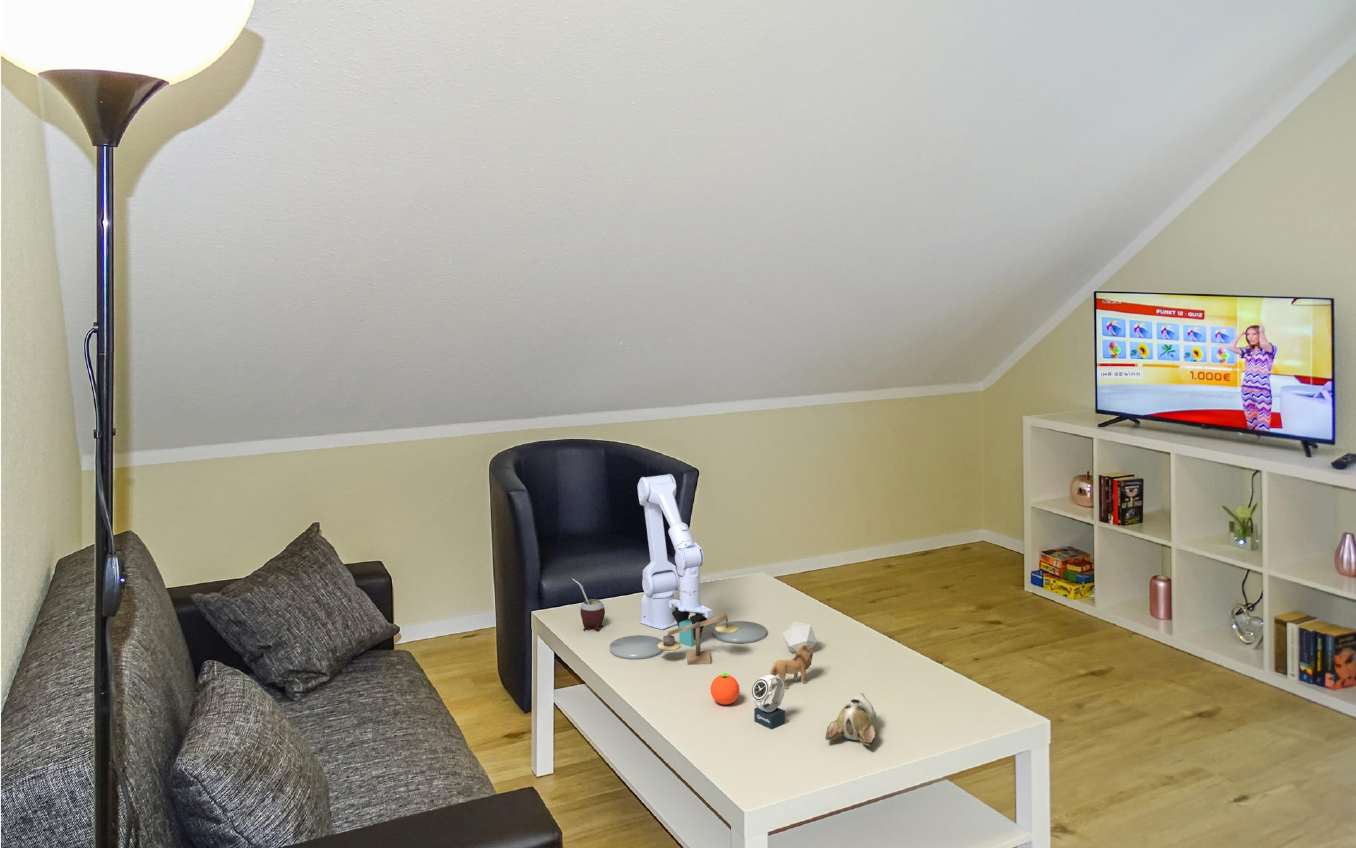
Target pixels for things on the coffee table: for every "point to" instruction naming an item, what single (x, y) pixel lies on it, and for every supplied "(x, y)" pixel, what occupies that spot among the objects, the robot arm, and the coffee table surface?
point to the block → (687, 634)
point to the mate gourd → (591, 612)
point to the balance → (697, 655)
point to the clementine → (724, 689)
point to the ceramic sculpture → (854, 722)
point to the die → (799, 636)
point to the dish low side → (636, 647)
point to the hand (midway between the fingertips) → (690, 637)
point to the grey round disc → (742, 633)
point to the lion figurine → (794, 664)
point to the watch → (769, 712)
